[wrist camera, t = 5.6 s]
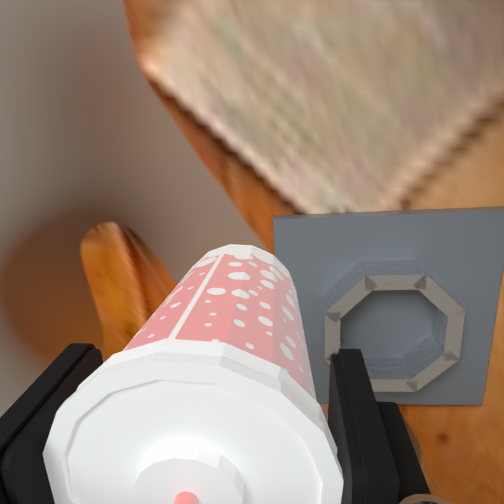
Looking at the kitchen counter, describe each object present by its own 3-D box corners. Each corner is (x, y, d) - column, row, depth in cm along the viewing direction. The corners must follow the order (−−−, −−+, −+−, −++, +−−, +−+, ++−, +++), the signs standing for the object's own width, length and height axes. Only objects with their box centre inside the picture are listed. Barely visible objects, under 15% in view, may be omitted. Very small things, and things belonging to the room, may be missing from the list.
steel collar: (321, 262, 33) (324, 276, 30) (454, 258, 32) (470, 272, 29) (322, 369, 37) (324, 391, 34) (442, 369, 35) (455, 392, 33)
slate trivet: (273, 215, 33) (273, 219, 32) (504, 206, 31) (512, 210, 30) (282, 395, 39) (281, 403, 38) (476, 396, 37) (482, 405, 36)
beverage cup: (185, 367, 18) (-104, 1077, 5) (151, 236, 16) (-487, 817, 3) (323, 353, 17) (439, 1167, 4) (305, 214, 15) (412, 889, 2)
